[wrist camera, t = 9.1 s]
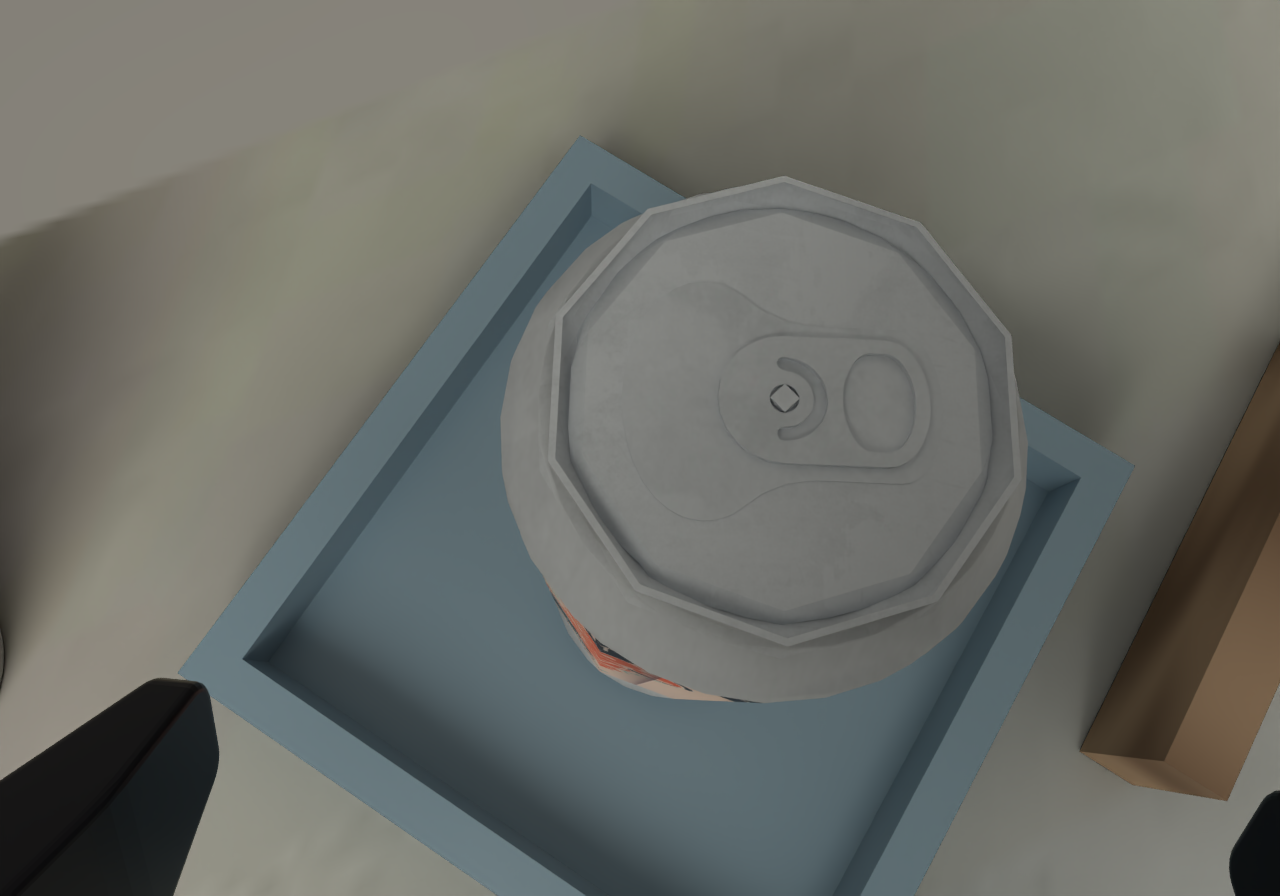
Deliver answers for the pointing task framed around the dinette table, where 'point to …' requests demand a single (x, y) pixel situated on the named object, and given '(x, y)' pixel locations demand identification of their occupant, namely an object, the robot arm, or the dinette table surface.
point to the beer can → (763, 445)
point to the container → (1, 656)
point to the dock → (1207, 630)
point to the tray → (563, 677)
